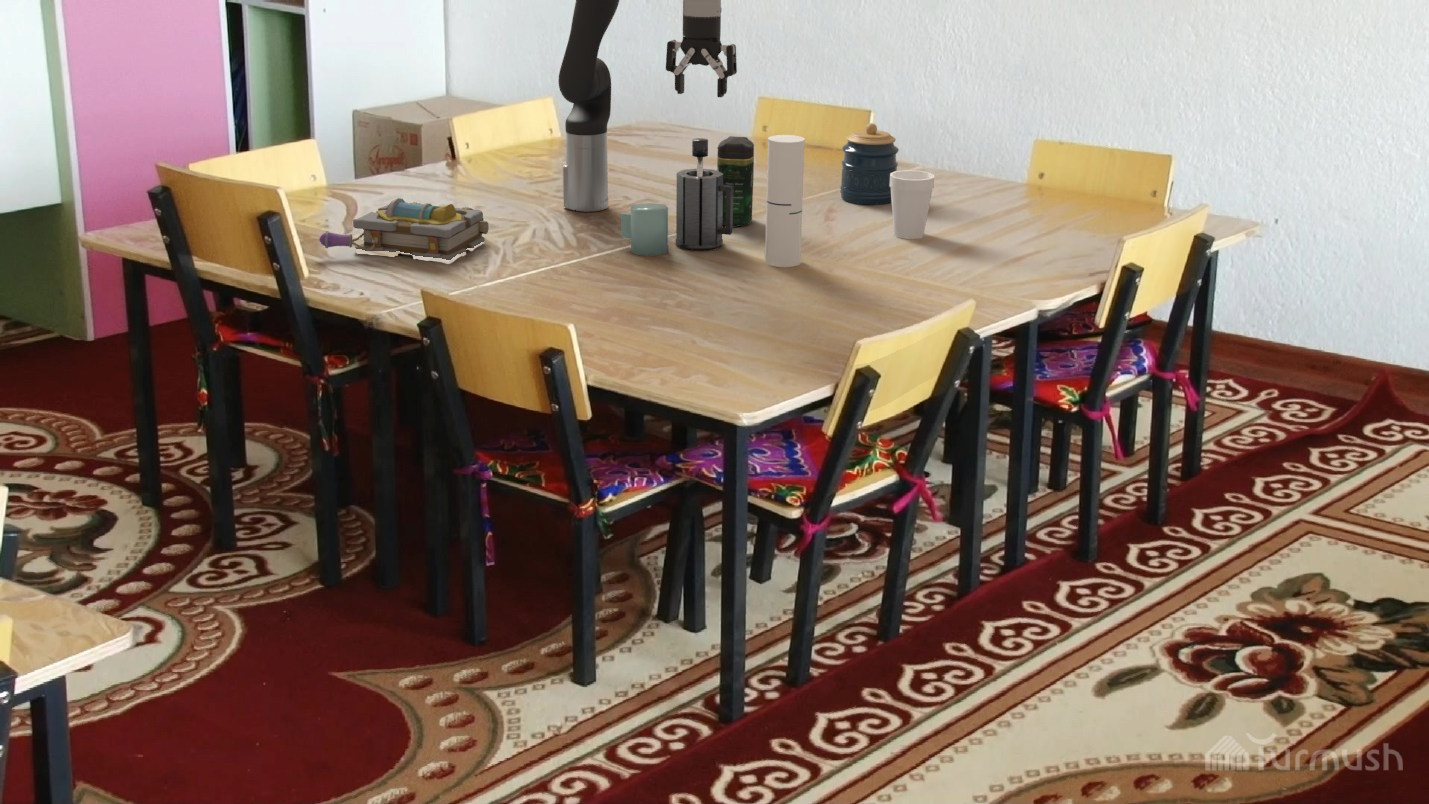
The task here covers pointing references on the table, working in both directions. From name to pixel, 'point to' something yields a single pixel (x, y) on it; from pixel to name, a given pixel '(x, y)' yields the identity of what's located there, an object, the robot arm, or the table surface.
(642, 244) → the teal mug
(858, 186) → the canister
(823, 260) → the table surface
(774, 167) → the cylindrical container
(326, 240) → the decorative book
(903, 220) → the foam cup
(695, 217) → the faceted grey mug
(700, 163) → the plunger
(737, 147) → the coffee jar
